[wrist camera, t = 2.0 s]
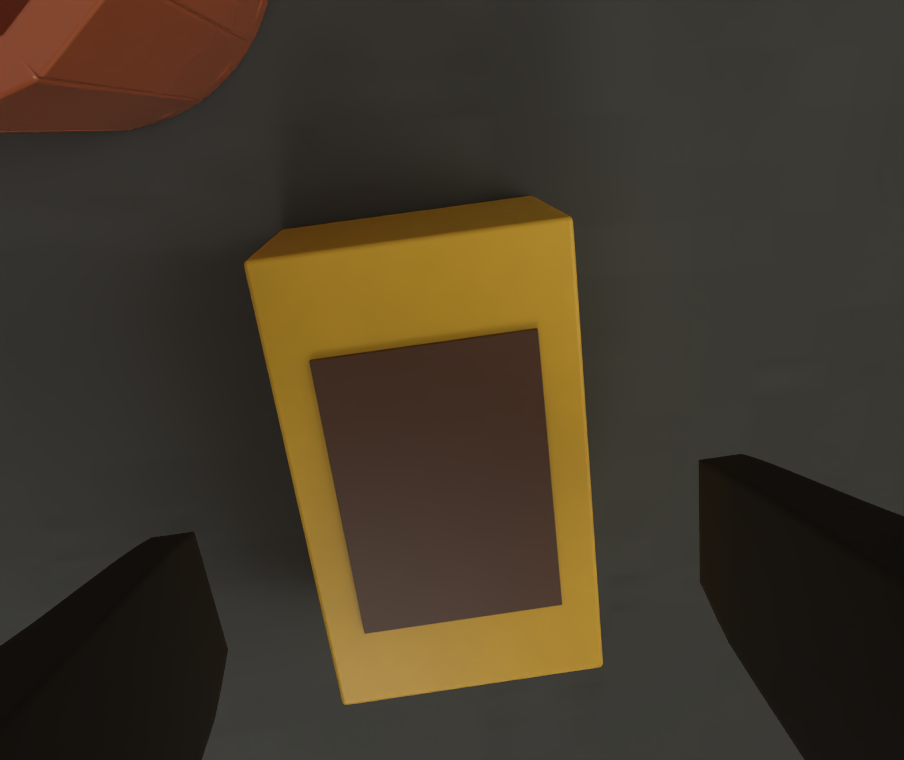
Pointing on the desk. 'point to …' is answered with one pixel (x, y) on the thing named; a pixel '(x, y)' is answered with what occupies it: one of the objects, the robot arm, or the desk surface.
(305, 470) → the coffee packet
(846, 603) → the robot arm
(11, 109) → the terracotta cup
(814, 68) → the desk surface
